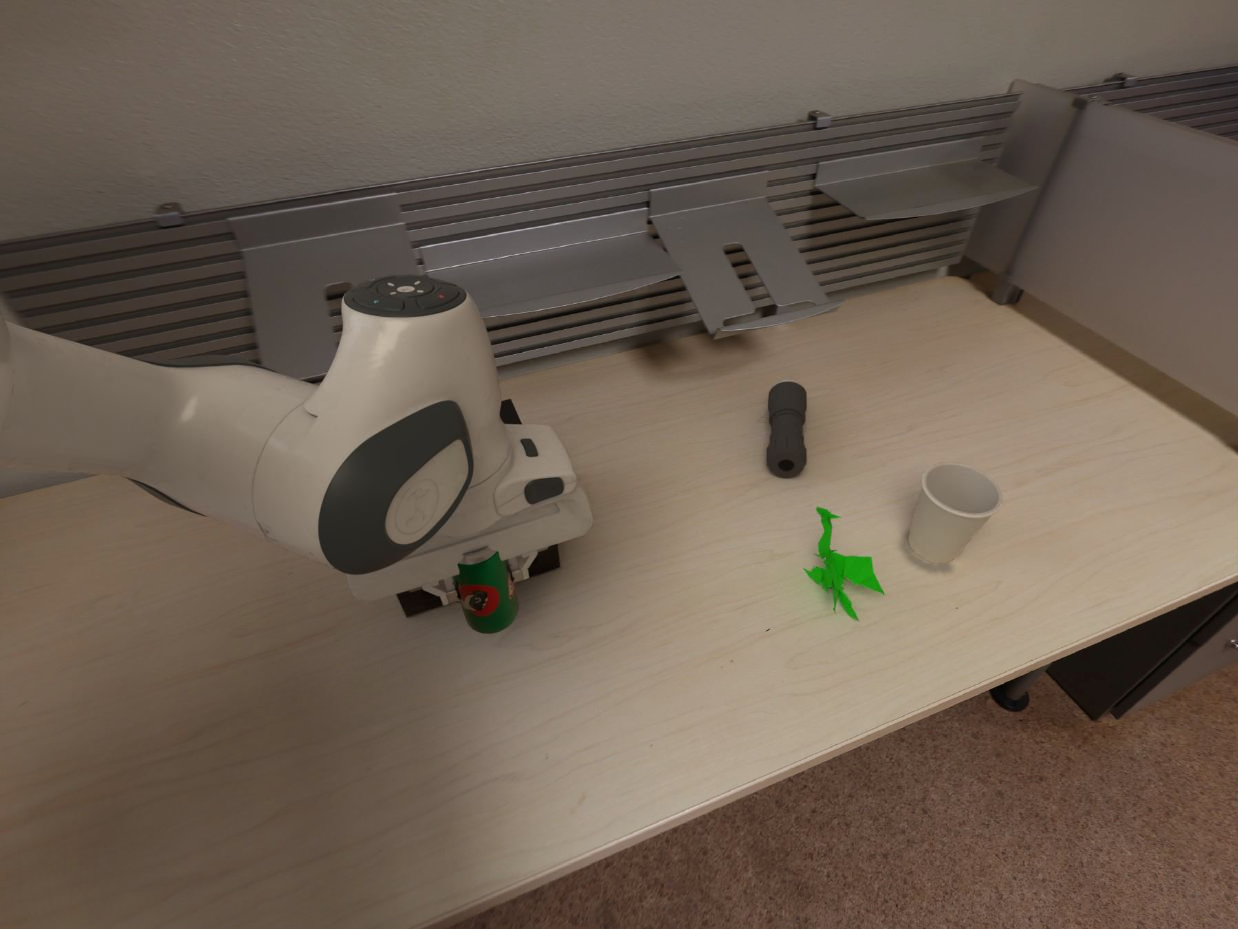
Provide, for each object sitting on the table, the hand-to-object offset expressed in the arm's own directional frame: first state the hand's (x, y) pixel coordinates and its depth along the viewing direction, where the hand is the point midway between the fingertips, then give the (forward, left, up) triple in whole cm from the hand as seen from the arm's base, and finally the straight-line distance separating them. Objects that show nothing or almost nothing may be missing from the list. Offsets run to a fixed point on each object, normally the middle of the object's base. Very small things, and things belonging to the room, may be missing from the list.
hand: (485, 585), depth 58 cm
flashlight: (+47, -13, -14) cm, 51 cm away
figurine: (+26, -27, -14) cm, 40 cm away
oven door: (+5, +6, -13) cm, 15 cm away
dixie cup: (+38, -36, -14) cm, 54 cm away
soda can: (0, 0, -5) cm, 5 cm away
